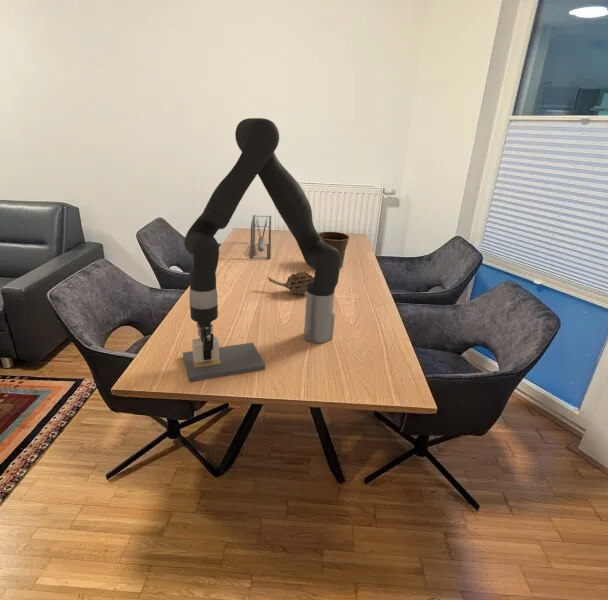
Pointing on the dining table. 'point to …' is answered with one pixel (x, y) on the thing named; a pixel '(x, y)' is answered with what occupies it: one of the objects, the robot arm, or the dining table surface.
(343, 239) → the plant pot
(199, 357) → the block
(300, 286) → the pine cone
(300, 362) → the dining table surface
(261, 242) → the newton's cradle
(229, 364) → the board
